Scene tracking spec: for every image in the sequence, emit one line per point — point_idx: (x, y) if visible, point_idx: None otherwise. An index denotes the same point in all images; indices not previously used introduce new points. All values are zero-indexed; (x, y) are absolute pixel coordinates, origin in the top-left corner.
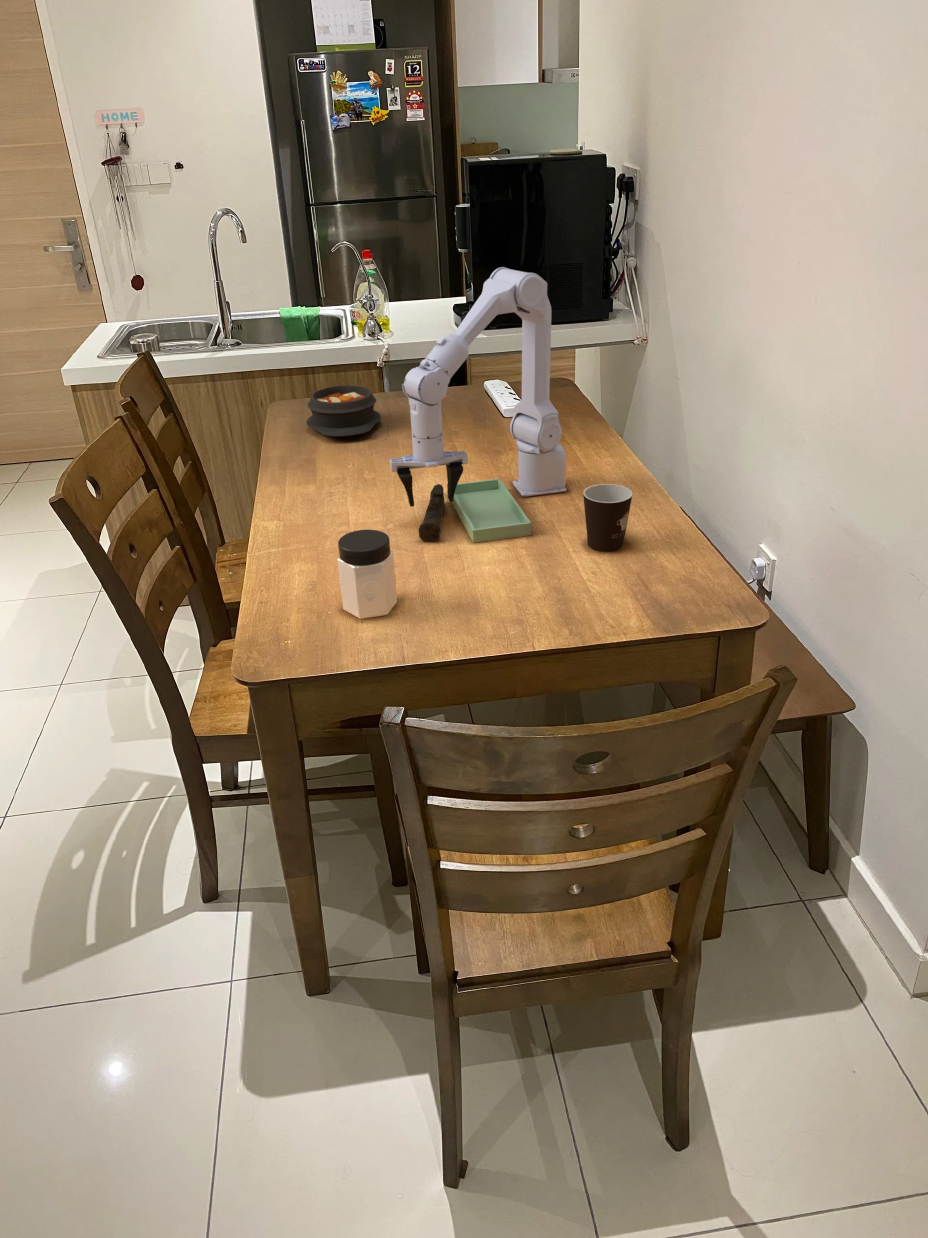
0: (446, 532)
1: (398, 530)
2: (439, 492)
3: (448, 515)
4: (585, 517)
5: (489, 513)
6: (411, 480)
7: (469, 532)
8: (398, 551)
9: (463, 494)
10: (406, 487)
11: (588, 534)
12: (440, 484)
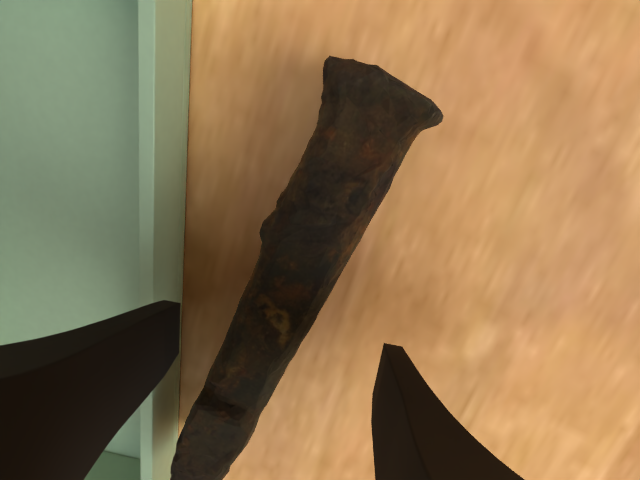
0: (276, 166)
1: (467, 285)
2: (202, 422)
3: (219, 320)
4: None
5: (57, 242)
6: (435, 470)
7: (180, 69)
8: (578, 53)
9: (119, 442)
10: (464, 435)
11: None
12: None
